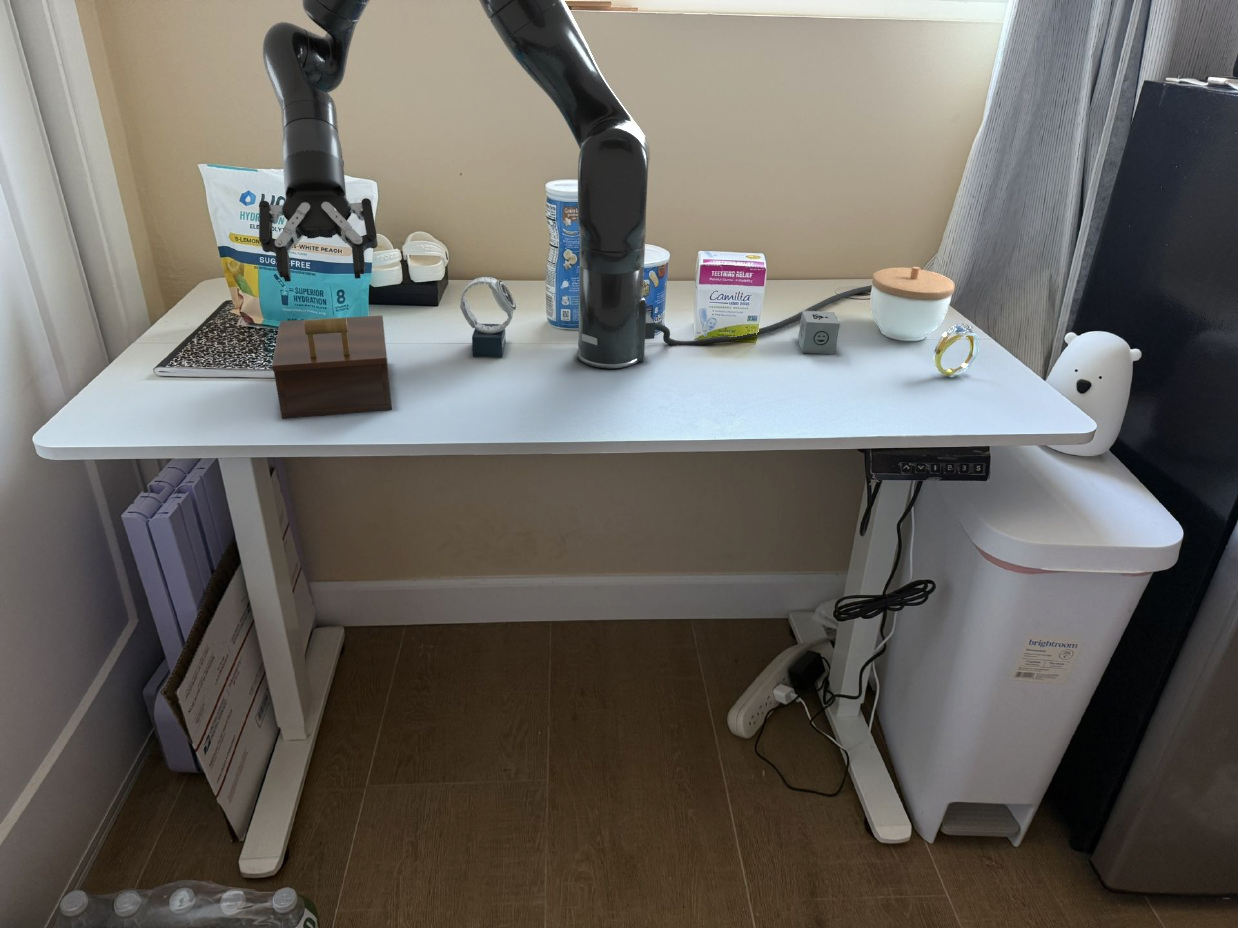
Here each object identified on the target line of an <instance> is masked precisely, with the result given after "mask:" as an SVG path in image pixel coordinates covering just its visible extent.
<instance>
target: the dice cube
mask: <svg viewBox="0 0 1238 928" xmlns="http://www.w3.org/2000/svg"><path fill="white" fill-rule="evenodd" d="M801 312H802V316H801V319H800V324H799V331H798V338H797V342H798V344H799V347H800V350H801V353H802V354H824V355H835V354H836V350H837V346H838V345H837V344H838V338H839V333H840V326H841V323H840V320H839V318H838V317H837V315H836V313H835V311H819V310H816V311H804V310H802V311H801Z"/></svg>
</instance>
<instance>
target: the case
mask: <svg viewBox="0 0 1238 928" xmlns="http://www.w3.org/2000/svg"><path fill="white" fill-rule="evenodd" d="M385 334H386V333H384V336H385ZM385 337H386V336H385ZM385 346H386V347H387V345H386V343H385ZM386 357H387V358H388V355H387V353H386ZM273 374H274V375H273V376H274V380H275V386H276V392H277V398H278V403H279V409H280V415H281V419H294V418H295V419H296V418H307V417H319V416H331V415H344V414H345V415H346V414H356V413H366V412H367V413H368V412H379V411H380V412H381V411H391V410H393V405H392V395H391V386H390V375H389V374H390V373H389V364H388V362H387V364H373V365H359V366H345V367H331V368H317V369H302V370H288V371H274V372H273Z"/></svg>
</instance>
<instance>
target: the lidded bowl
mask: <svg viewBox="0 0 1238 928" xmlns="http://www.w3.org/2000/svg"><path fill="white" fill-rule="evenodd" d="M871 285H872V290H871V291H870V298H869V299H870V301H869V303H870V312H871V317H872V318H873V321H874V322H875V324H876V326H877V327H878V328H879V329H880V333H881V334H882V335H883V336H885V337H887V338H889V339H893V340H895V341H896V340H897V341H900V342H901V341H903V342H919V341H922V340H925V338H926V337H927V336H928V335H930V334H931V333H932V332H934V331H935V330H936V329H938V328H939V326H940V325H941V324H942V322H943V321H944V319H945V318H946V315H947V313H948V311H949V308H950V305H951V301H952V295H953V294H954V292H955V287H956V284H955V282H954V281H953V280H952V279H950V278H949V277H947V276H945V275H943V274H940V273H939V272H938V273H937V272H934V271H930V270H926V269H921V267H919V266H912V267H888V268H883V269H880V270H877V271H876V272H874V273H873V275H872V278H871Z"/></svg>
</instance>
